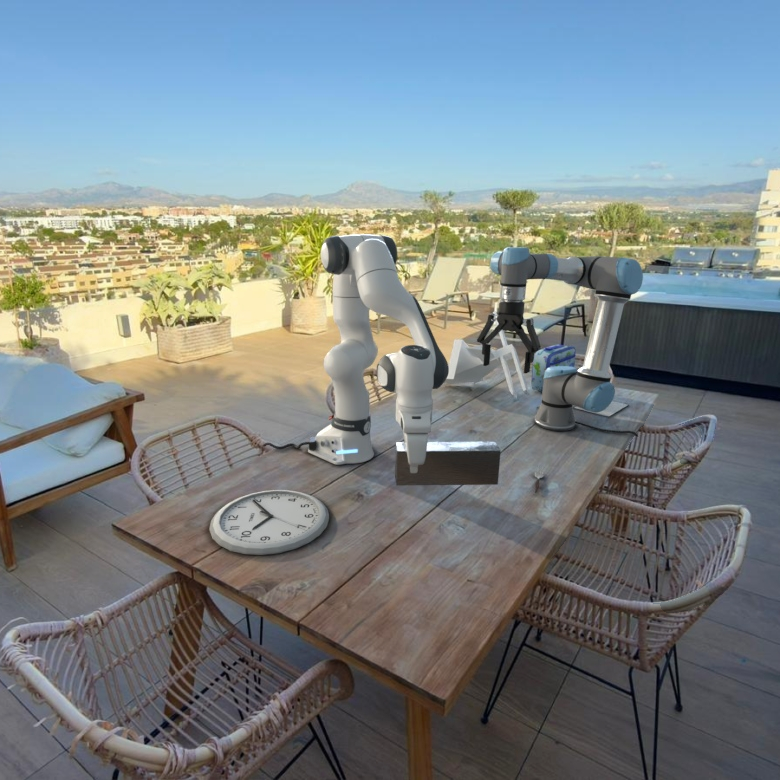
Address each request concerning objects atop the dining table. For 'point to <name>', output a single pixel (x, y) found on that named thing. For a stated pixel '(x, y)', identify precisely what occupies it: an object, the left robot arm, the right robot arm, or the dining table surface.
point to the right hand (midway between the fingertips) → (506, 368)
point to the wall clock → (269, 522)
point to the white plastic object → (470, 363)
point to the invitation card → (609, 409)
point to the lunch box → (550, 362)
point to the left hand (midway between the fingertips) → (412, 465)
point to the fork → (538, 475)
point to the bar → (451, 464)
